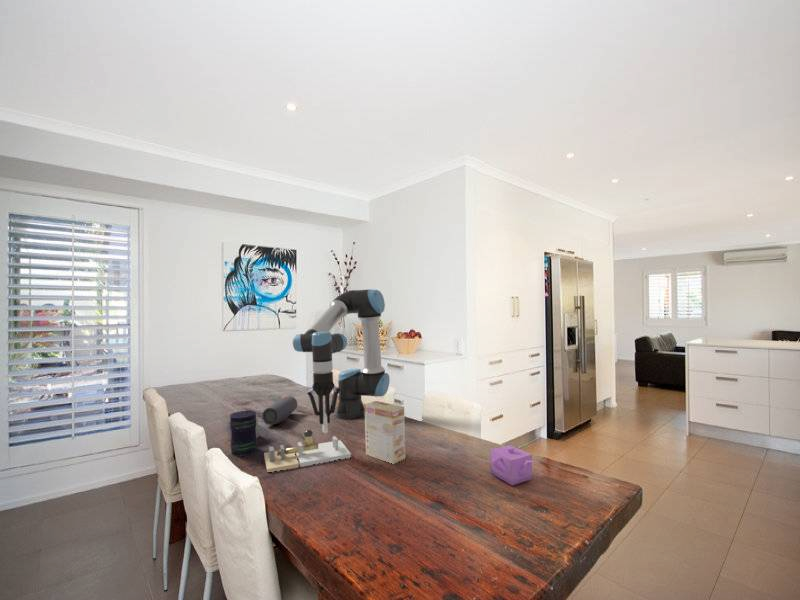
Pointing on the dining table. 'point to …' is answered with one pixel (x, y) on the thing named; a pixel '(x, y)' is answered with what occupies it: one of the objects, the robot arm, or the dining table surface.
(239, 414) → the dark blue barrel
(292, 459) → the door lock
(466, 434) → the dining table surface
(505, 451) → the purple knobbed block
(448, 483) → the dining table surface
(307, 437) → the bolt
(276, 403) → the bluetooth speaker
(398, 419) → the coffeecake box
